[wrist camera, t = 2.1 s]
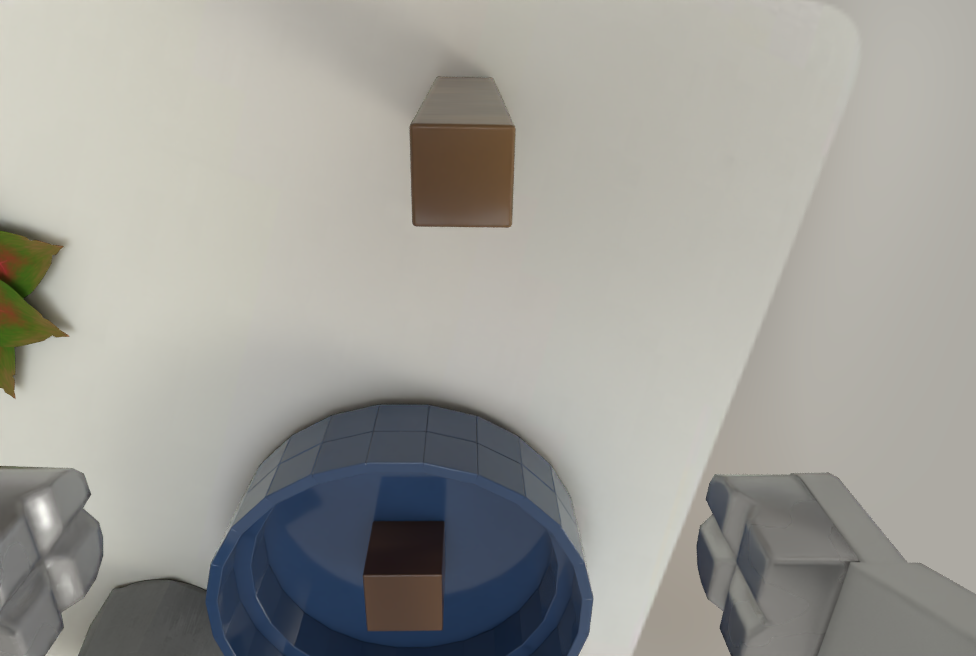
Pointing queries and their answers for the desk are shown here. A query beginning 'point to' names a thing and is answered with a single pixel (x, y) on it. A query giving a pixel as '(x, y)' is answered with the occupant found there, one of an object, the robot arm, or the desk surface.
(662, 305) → the desk surface
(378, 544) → the block
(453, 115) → the stick
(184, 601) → the coffeepot
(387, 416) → the bowl
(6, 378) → the lily flower
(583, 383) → the desk surface
